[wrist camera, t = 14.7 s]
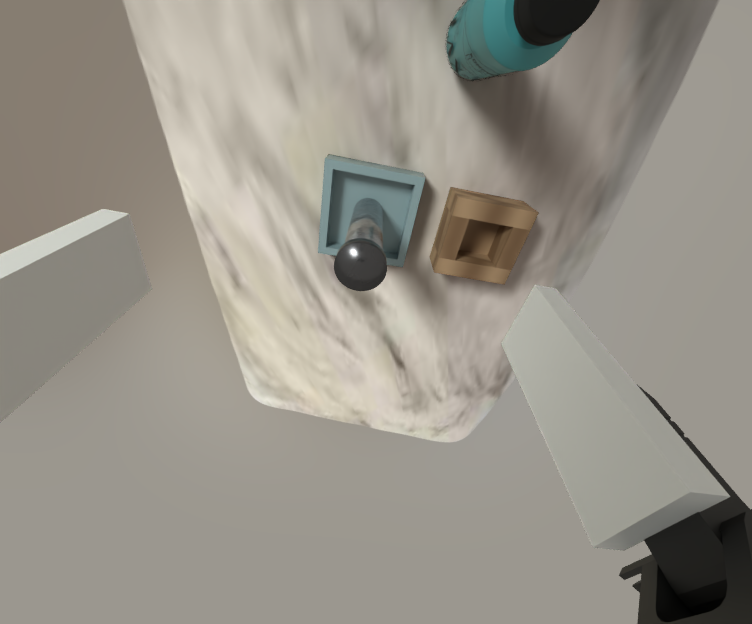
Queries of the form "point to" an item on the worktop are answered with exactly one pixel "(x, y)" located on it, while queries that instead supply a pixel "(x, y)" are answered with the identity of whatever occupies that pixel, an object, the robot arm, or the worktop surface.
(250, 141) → the worktop surface
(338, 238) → the tray
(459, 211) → the socket block
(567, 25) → the beverage bottle
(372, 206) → the steel pin
